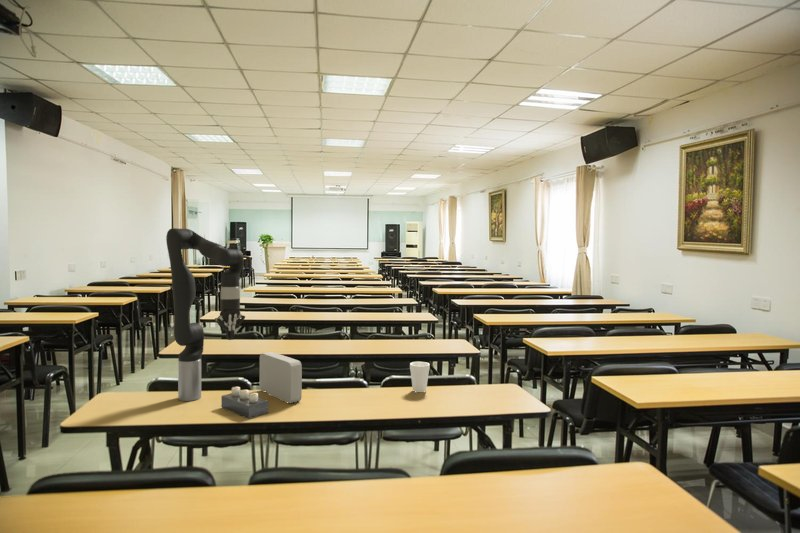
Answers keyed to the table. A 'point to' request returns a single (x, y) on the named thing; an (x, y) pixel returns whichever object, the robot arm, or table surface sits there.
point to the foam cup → (419, 375)
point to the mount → (244, 406)
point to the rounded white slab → (281, 376)
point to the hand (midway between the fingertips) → (230, 339)
